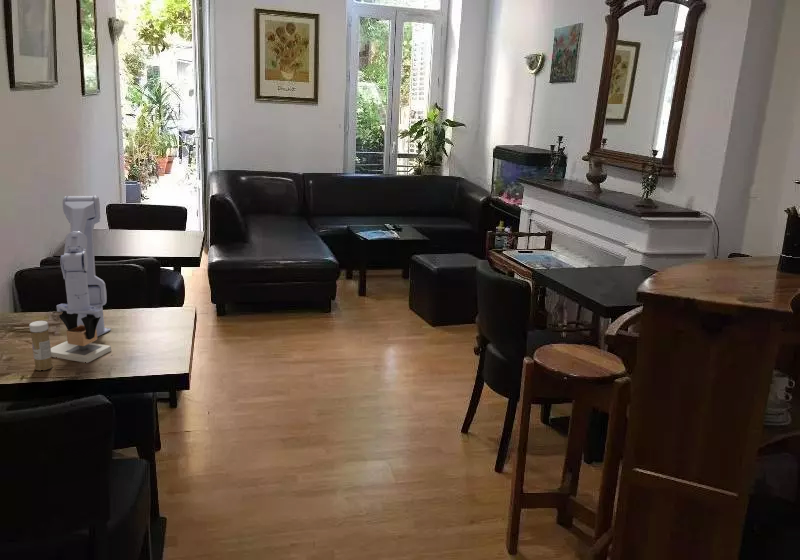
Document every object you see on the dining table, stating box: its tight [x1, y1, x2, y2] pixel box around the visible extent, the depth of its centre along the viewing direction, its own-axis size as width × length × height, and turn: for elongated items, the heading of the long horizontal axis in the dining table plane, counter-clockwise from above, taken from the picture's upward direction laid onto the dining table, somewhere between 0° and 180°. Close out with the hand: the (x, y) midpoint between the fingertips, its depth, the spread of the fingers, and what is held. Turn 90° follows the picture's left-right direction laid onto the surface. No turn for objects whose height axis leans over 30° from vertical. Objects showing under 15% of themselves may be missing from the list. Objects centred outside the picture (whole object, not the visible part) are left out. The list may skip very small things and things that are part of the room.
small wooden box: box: [65, 325, 98, 346], centre depth 193 cm, size 6×6×4 cm
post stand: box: [50, 340, 112, 364], centre depth 195 cm, size 15×10×6 cm, turn 73°
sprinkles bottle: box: [28, 320, 54, 371], centre depth 183 cm, size 5×5×13 cm
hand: (82, 337), depth 193 cm, fingers closed on small wooden box, 5 cm apart
